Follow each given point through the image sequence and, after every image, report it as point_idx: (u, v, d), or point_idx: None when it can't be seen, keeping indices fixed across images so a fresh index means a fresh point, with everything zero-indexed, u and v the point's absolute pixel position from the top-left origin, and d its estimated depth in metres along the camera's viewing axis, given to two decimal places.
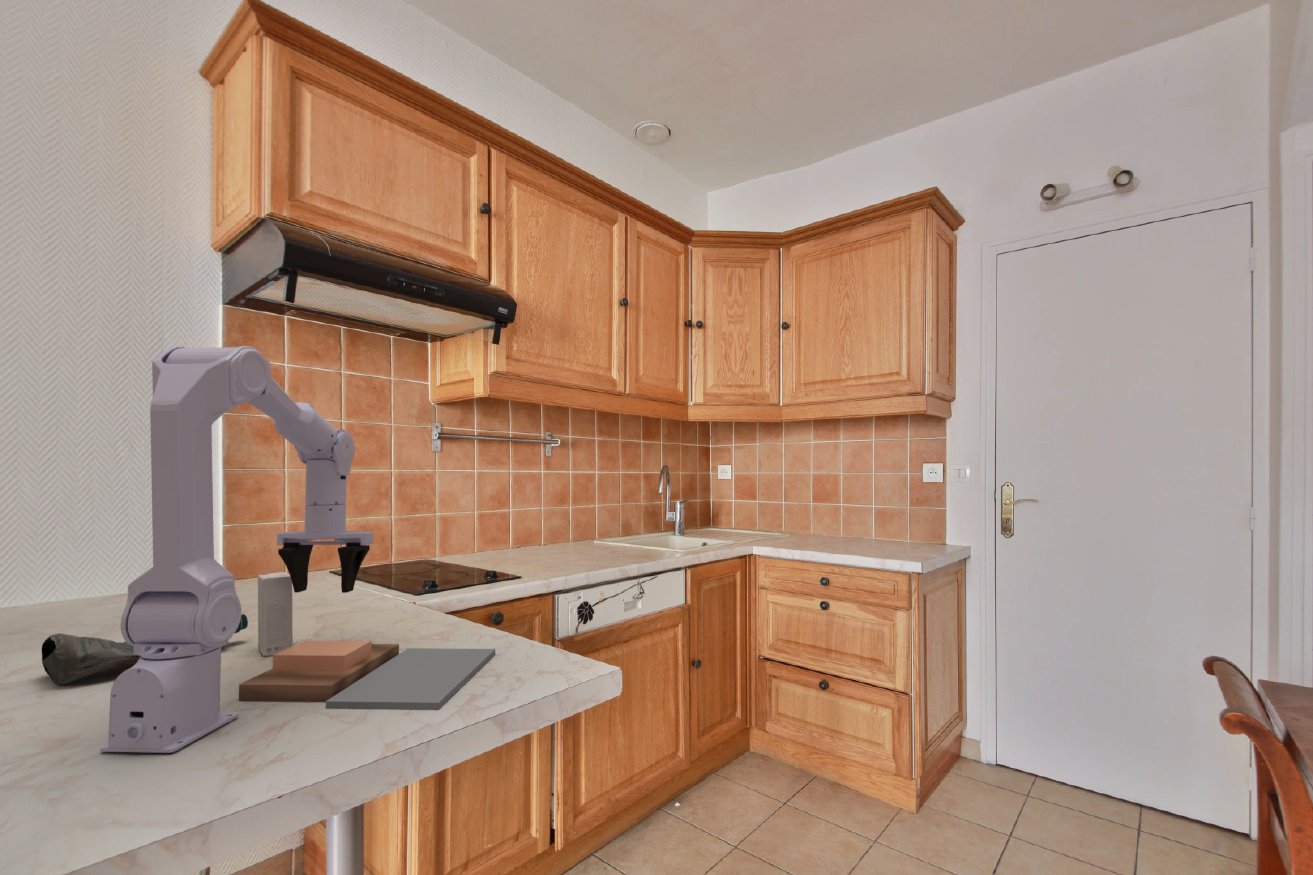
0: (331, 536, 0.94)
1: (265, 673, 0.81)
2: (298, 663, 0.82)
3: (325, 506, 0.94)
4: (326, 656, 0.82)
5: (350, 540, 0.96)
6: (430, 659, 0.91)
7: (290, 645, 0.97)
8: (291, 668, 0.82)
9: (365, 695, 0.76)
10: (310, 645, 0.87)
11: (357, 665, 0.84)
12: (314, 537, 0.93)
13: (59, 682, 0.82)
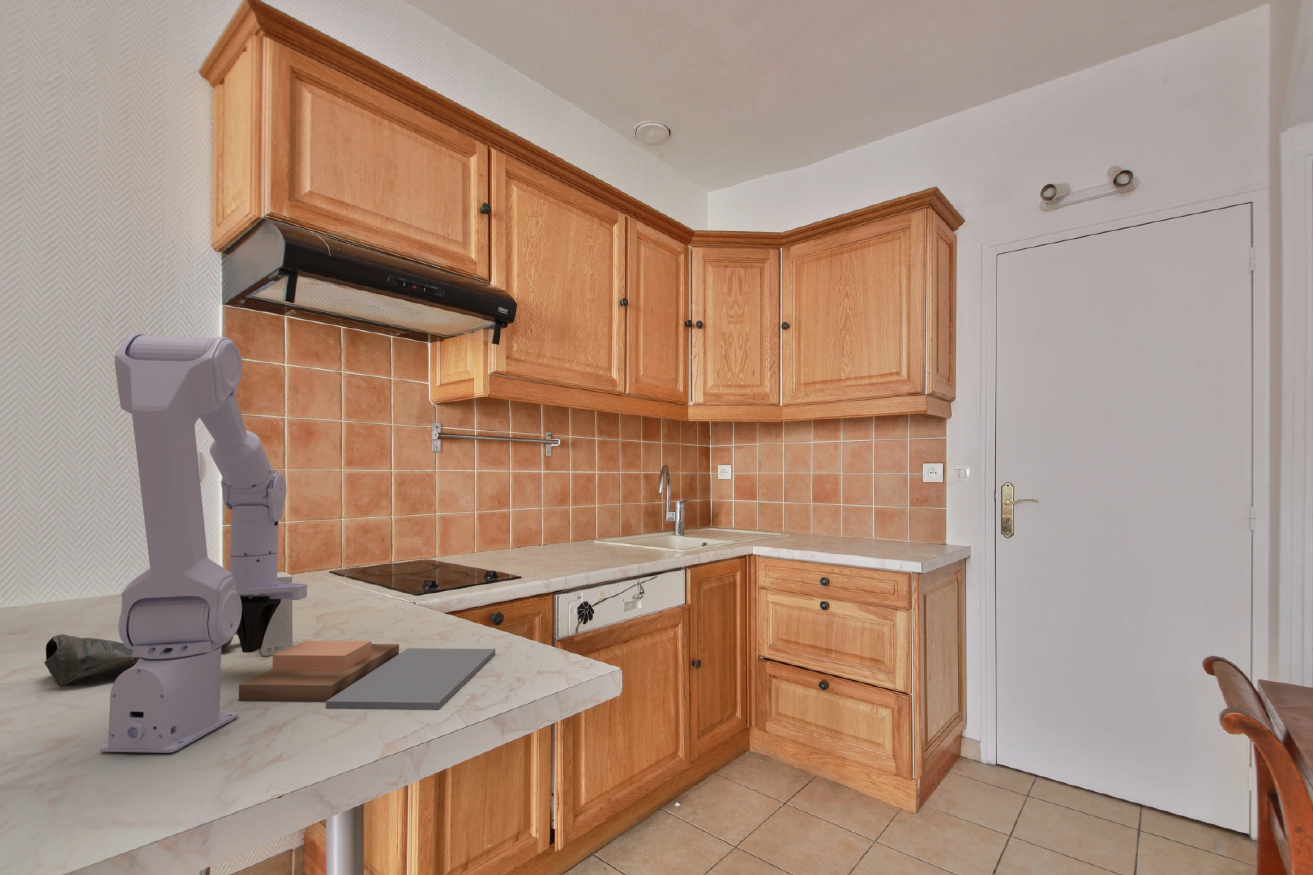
0: (258, 591, 0.84)
1: (265, 673, 0.81)
2: (298, 663, 0.82)
3: (251, 557, 0.84)
4: (326, 656, 0.82)
5: (281, 594, 0.86)
6: (430, 659, 0.91)
7: (290, 645, 0.97)
8: (291, 668, 0.82)
9: (365, 695, 0.76)
10: (310, 645, 0.87)
11: (357, 665, 0.84)
12: (239, 592, 0.84)
13: (60, 683, 0.82)
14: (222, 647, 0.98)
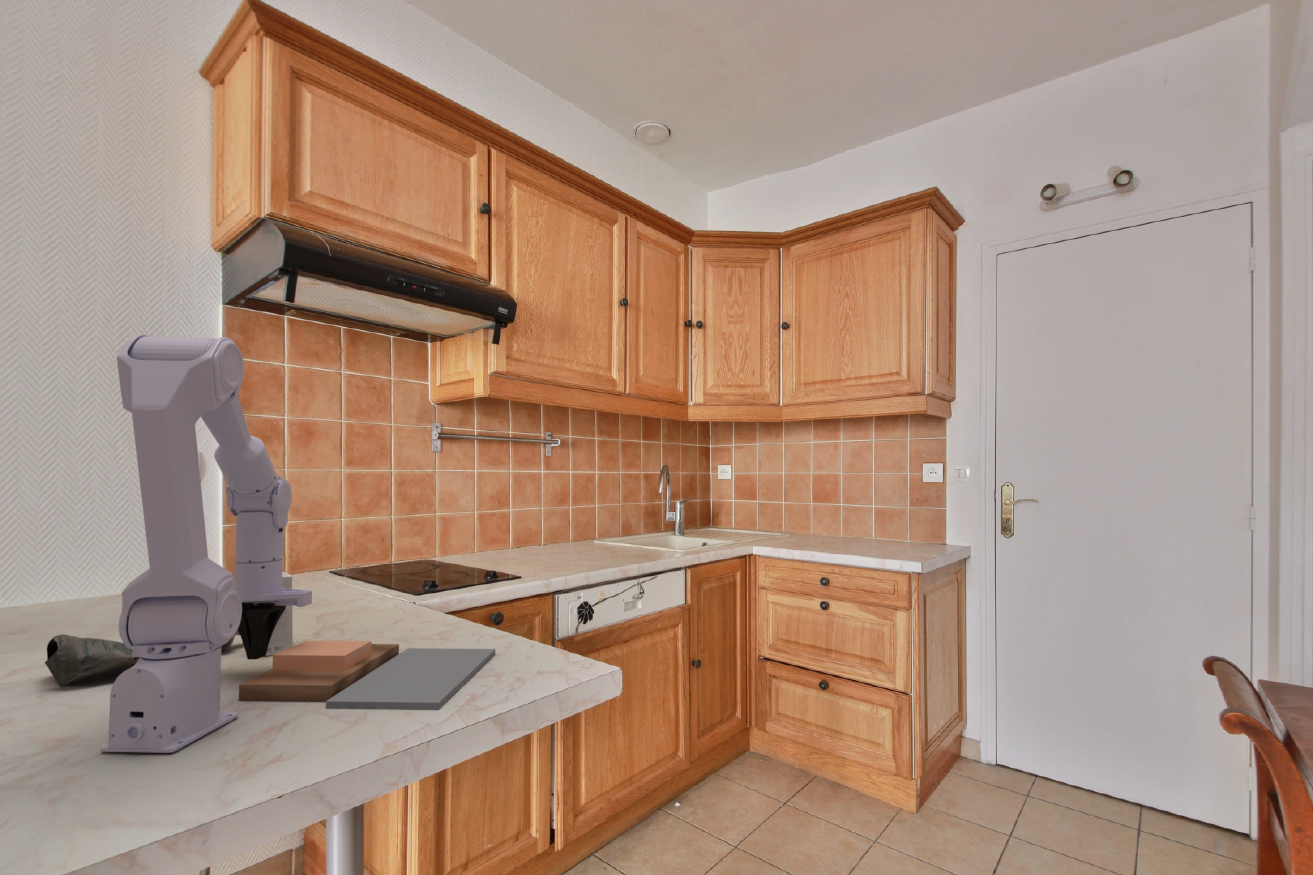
0: (263, 598, 0.84)
1: (265, 673, 0.81)
2: (298, 663, 0.82)
3: (256, 564, 0.84)
4: (326, 656, 0.82)
5: (286, 600, 0.86)
6: (430, 659, 0.91)
7: (290, 645, 0.97)
8: (291, 668, 0.82)
9: (365, 695, 0.76)
10: (310, 645, 0.87)
11: (357, 665, 0.84)
12: (244, 599, 0.84)
13: (61, 684, 0.81)
14: (223, 647, 0.98)
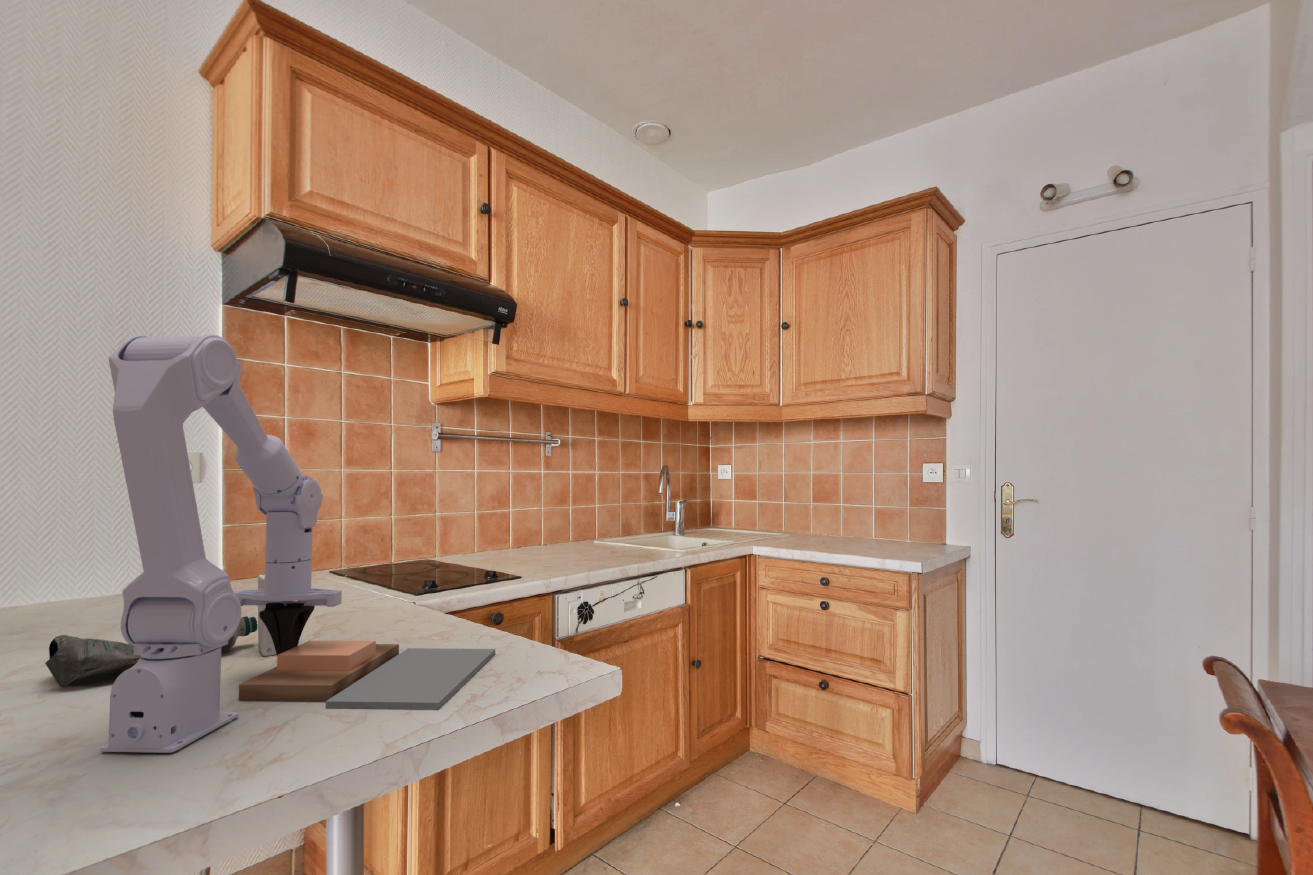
0: (293, 598, 0.84)
1: (265, 673, 0.81)
2: (303, 663, 0.82)
3: (287, 564, 0.84)
4: (331, 656, 0.82)
5: (316, 600, 0.86)
6: (430, 659, 0.91)
7: None
8: (296, 668, 0.82)
9: (365, 695, 0.76)
10: (314, 645, 0.87)
11: None
12: (274, 599, 0.83)
13: (61, 684, 0.81)
14: (226, 649, 0.97)
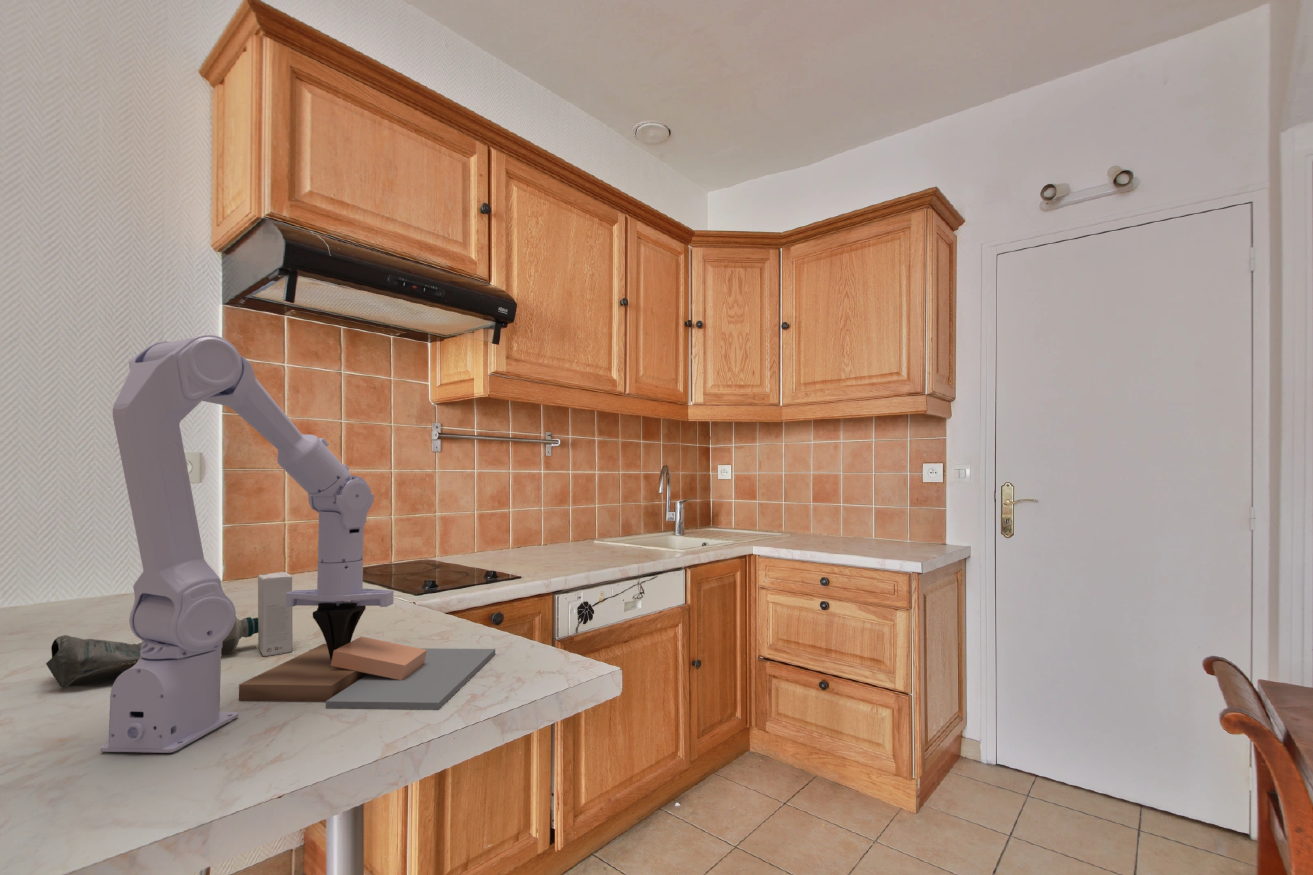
0: (347, 598, 0.84)
1: (265, 673, 0.81)
2: (357, 664, 0.82)
3: (340, 564, 0.84)
4: (386, 662, 0.82)
5: (368, 600, 0.86)
6: (430, 659, 0.91)
7: (290, 645, 0.97)
8: (349, 667, 0.82)
9: (365, 695, 0.76)
10: (367, 644, 0.87)
11: None
12: (328, 599, 0.83)
13: (61, 685, 0.81)
14: (228, 650, 0.97)
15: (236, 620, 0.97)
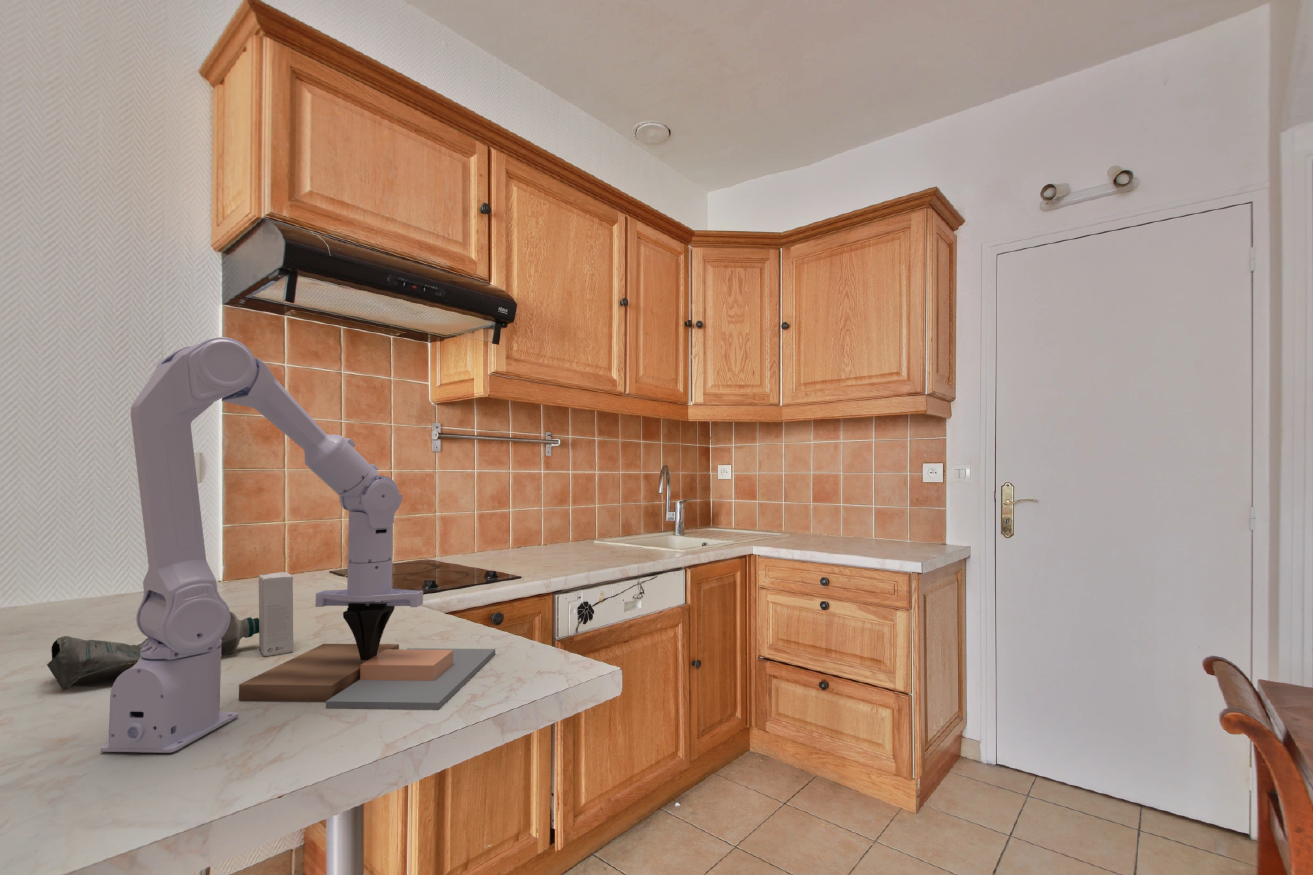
0: (377, 598, 0.83)
1: (265, 673, 0.81)
2: (386, 673, 0.82)
3: (371, 564, 0.84)
4: (415, 666, 0.82)
5: (398, 601, 0.85)
6: None
7: (291, 645, 0.97)
8: (379, 678, 0.82)
9: (365, 695, 0.76)
10: (393, 654, 0.86)
11: (357, 665, 0.84)
12: (359, 599, 0.83)
13: (63, 686, 0.81)
14: (229, 650, 0.96)
15: (237, 620, 0.97)
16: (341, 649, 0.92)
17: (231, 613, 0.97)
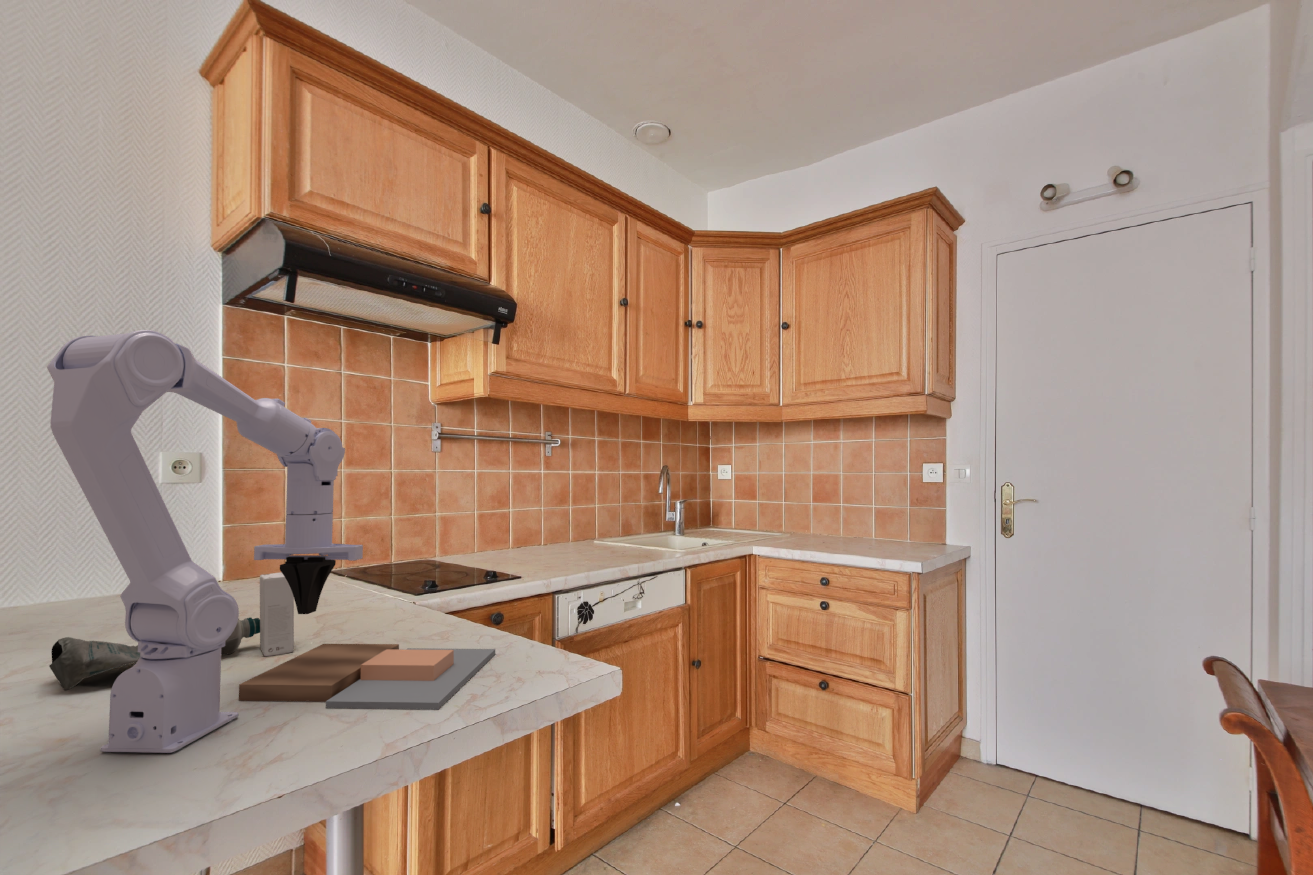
0: (314, 550, 0.82)
1: (265, 673, 0.81)
2: (387, 673, 0.82)
3: (308, 516, 0.83)
4: (415, 666, 0.82)
5: (337, 554, 0.84)
6: None
7: (291, 645, 0.97)
8: (379, 678, 0.82)
9: (365, 695, 0.76)
10: (394, 654, 0.86)
11: (357, 665, 0.84)
12: (295, 551, 0.82)
13: (65, 687, 0.80)
14: (230, 650, 0.96)
15: (238, 620, 0.96)
16: (341, 649, 0.92)
17: None
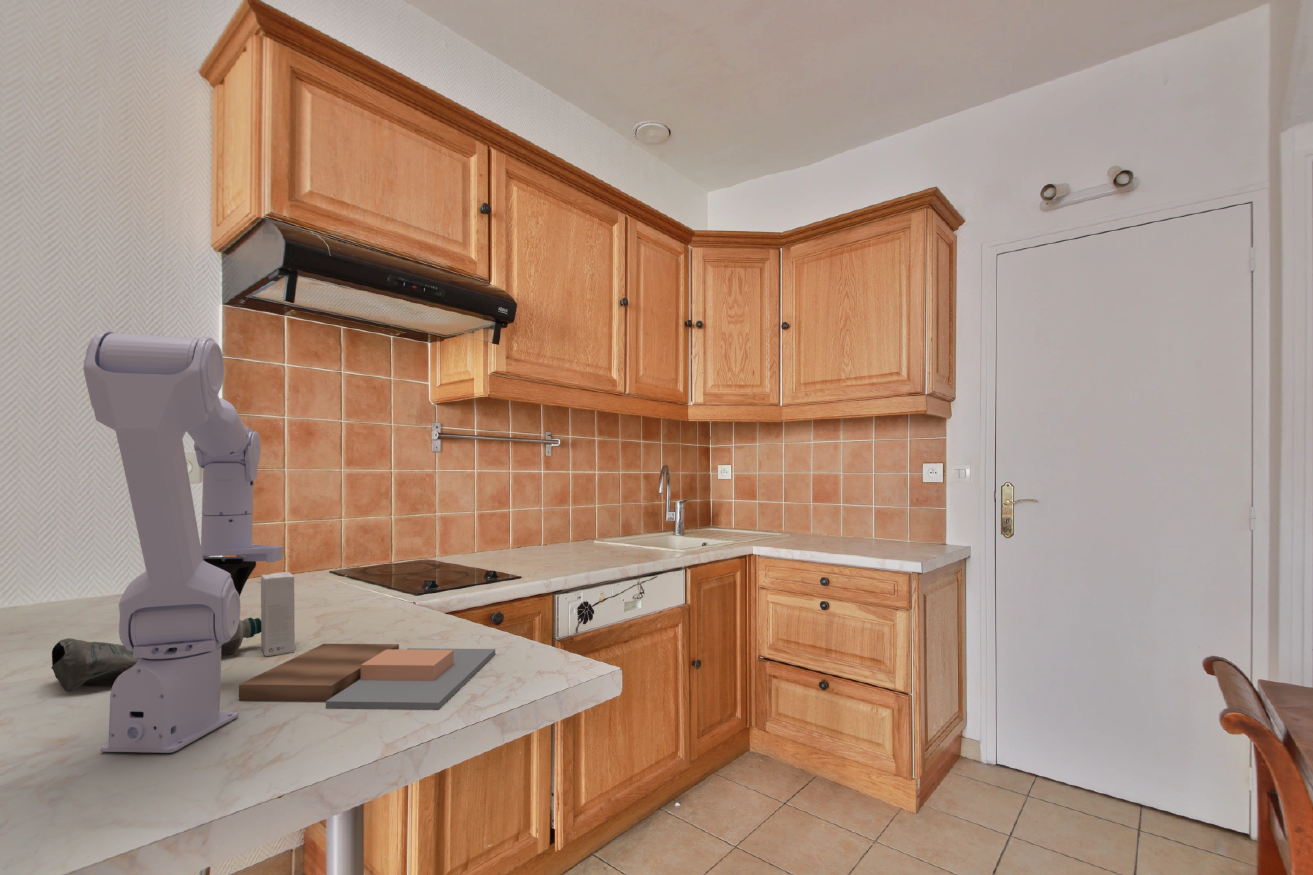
0: (230, 552, 0.81)
1: (265, 673, 0.81)
2: (387, 673, 0.82)
3: (224, 517, 0.81)
4: (415, 666, 0.82)
5: (255, 556, 0.83)
6: None
7: (292, 645, 0.97)
8: (379, 678, 0.82)
9: (365, 695, 0.76)
10: (394, 654, 0.86)
11: (357, 665, 0.84)
12: (210, 553, 0.80)
13: (68, 689, 0.80)
14: (231, 650, 0.96)
15: (239, 621, 0.96)
16: (341, 649, 0.92)
17: None
